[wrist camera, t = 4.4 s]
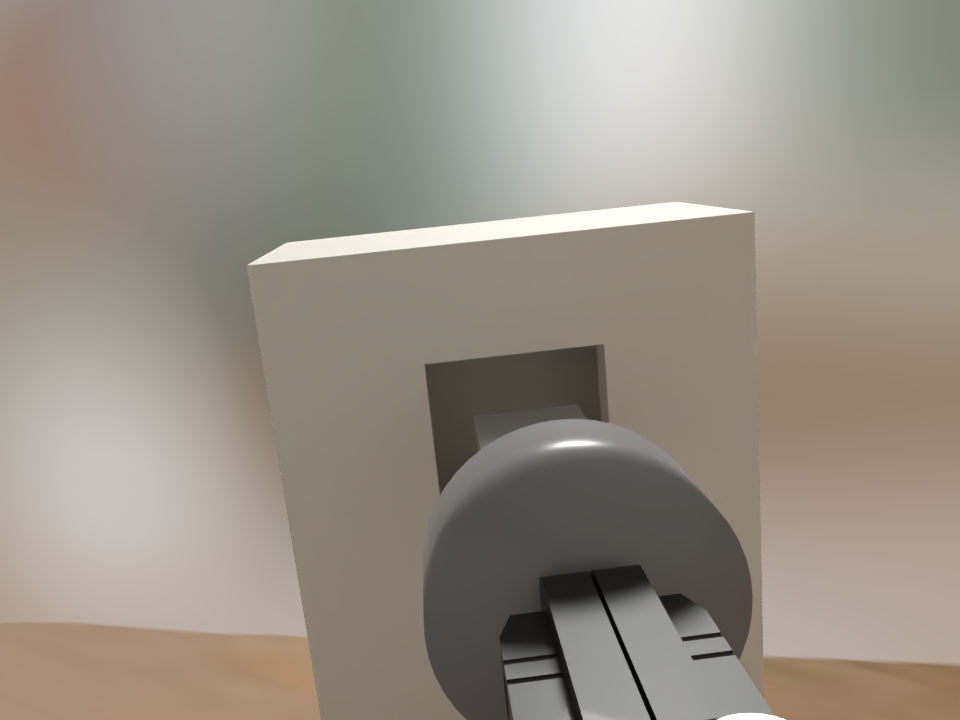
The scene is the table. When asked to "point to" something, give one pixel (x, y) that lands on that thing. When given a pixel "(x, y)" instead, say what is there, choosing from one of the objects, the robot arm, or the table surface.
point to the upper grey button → (563, 539)
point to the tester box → (489, 398)
